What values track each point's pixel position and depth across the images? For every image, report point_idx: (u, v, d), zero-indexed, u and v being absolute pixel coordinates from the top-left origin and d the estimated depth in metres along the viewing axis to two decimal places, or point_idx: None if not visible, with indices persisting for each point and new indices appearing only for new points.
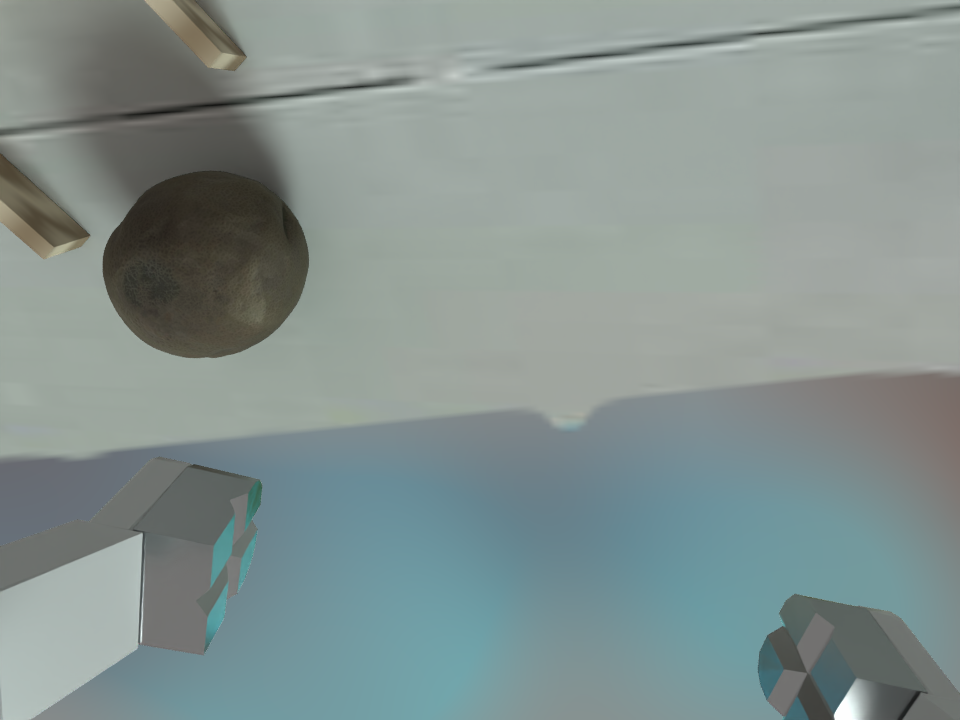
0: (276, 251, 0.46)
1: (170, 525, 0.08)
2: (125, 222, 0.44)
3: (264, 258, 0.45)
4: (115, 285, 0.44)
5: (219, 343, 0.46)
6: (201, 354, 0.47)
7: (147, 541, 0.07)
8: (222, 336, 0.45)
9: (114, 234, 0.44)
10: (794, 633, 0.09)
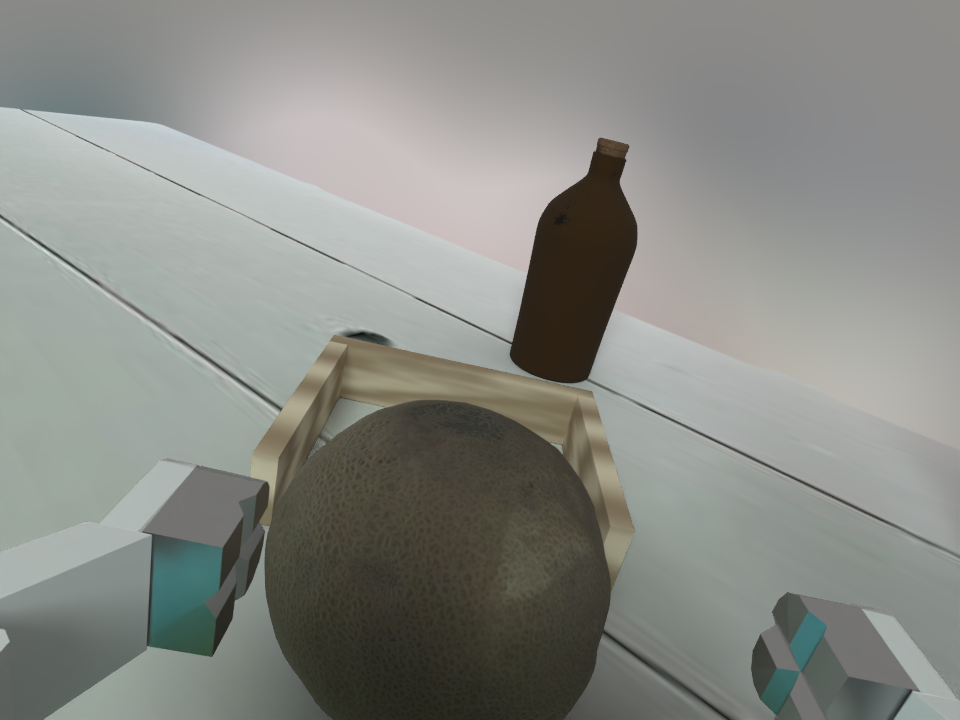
0: (602, 595, 0.24)
1: (179, 527, 0.08)
2: None
3: (596, 567, 0.24)
4: (412, 402, 0.27)
5: (429, 533, 0.21)
6: (356, 537, 0.22)
7: (157, 543, 0.07)
8: (453, 527, 0.21)
9: None
10: (787, 631, 0.09)
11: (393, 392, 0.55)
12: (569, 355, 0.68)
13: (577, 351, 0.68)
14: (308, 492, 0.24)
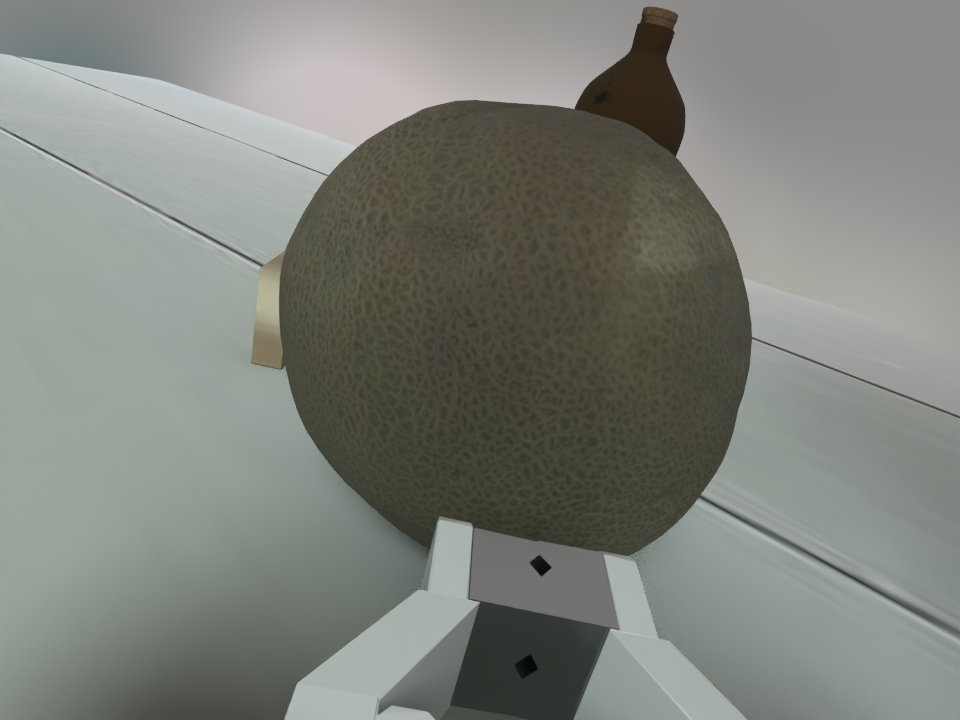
0: (748, 327, 0.17)
1: (496, 592, 0.08)
2: None
3: (742, 283, 0.17)
4: None
5: (524, 175, 0.14)
6: (414, 194, 0.15)
7: (481, 609, 0.08)
8: (560, 168, 0.14)
9: None
10: None
11: None
12: None
13: None
14: (341, 174, 0.17)
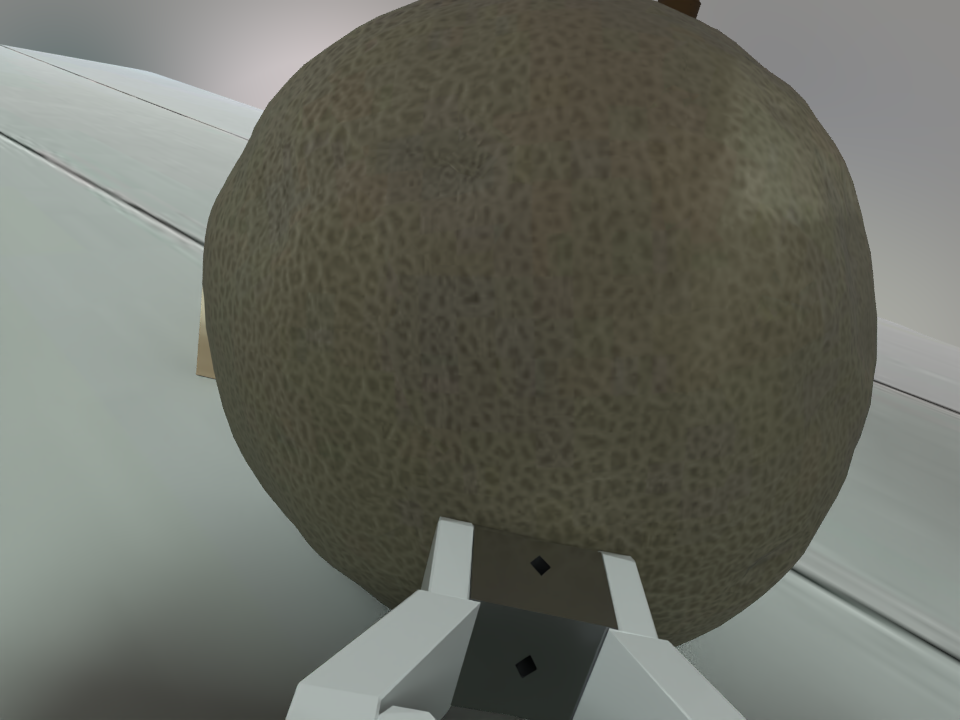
0: (876, 317, 0.12)
1: (497, 593, 0.08)
2: None
3: (870, 252, 0.12)
4: None
5: (558, 65, 0.09)
6: (386, 100, 0.10)
7: (481, 610, 0.08)
8: (615, 54, 0.09)
9: None
10: None
11: None
12: None
13: None
14: (288, 87, 0.12)
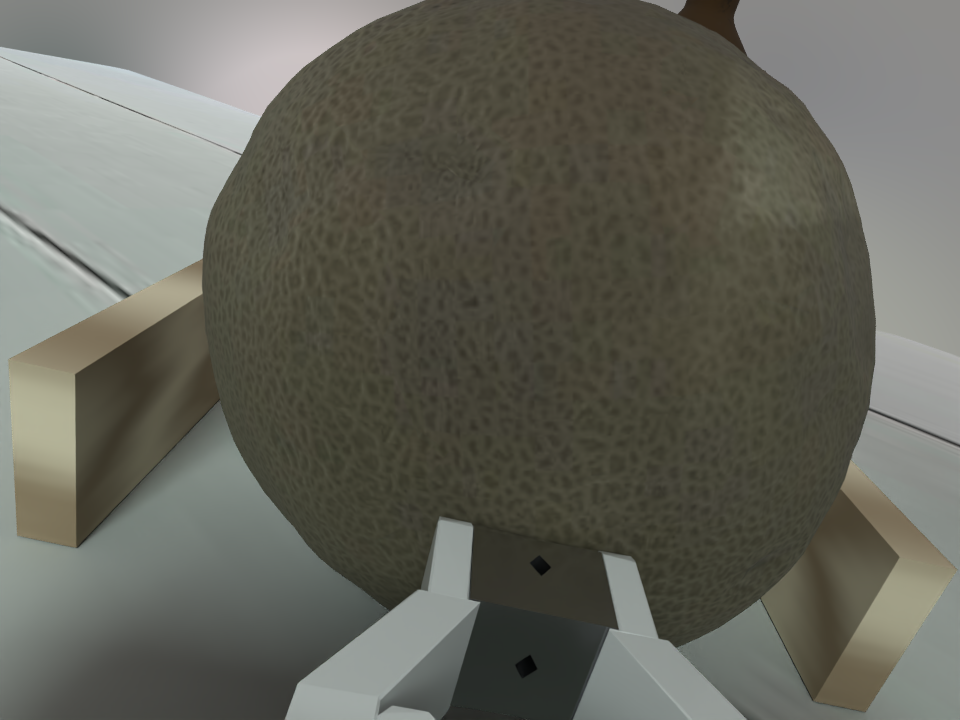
0: (874, 319, 0.12)
1: (497, 593, 0.08)
2: None
3: (868, 254, 0.12)
4: None
5: (556, 69, 0.09)
6: (385, 104, 0.10)
7: (481, 610, 0.08)
8: (613, 58, 0.09)
9: None
10: None
11: None
12: None
13: None
14: (287, 90, 0.12)
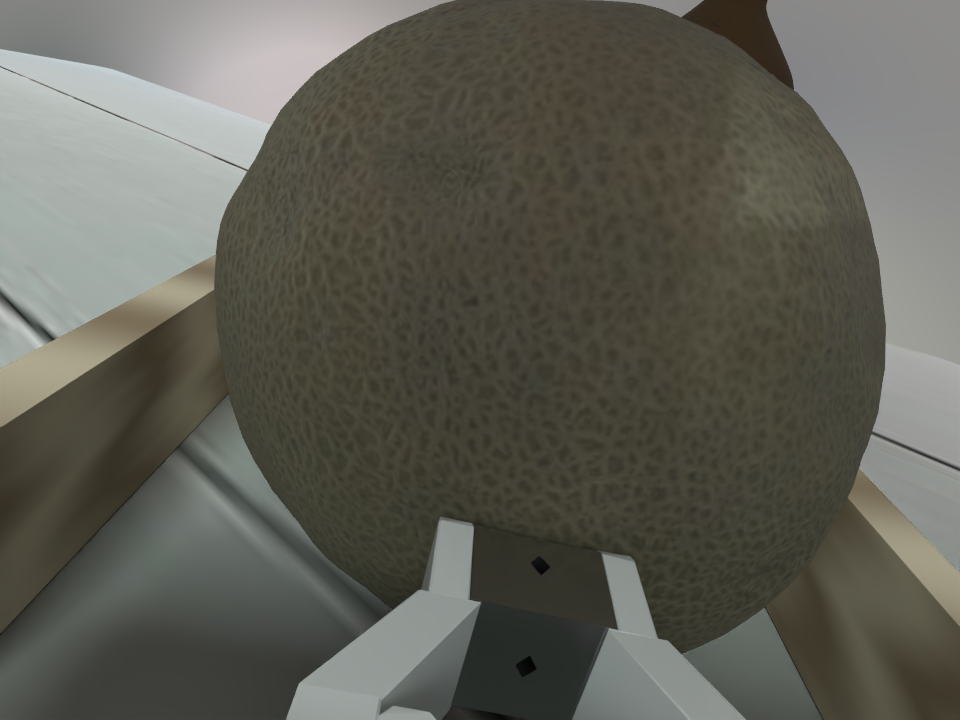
0: (884, 325, 0.12)
1: (497, 593, 0.08)
2: None
3: (878, 259, 0.12)
4: None
5: (559, 72, 0.09)
6: (391, 107, 0.10)
7: (482, 609, 0.08)
8: (616, 61, 0.09)
9: None
10: None
11: None
12: None
13: None
14: (299, 94, 0.12)
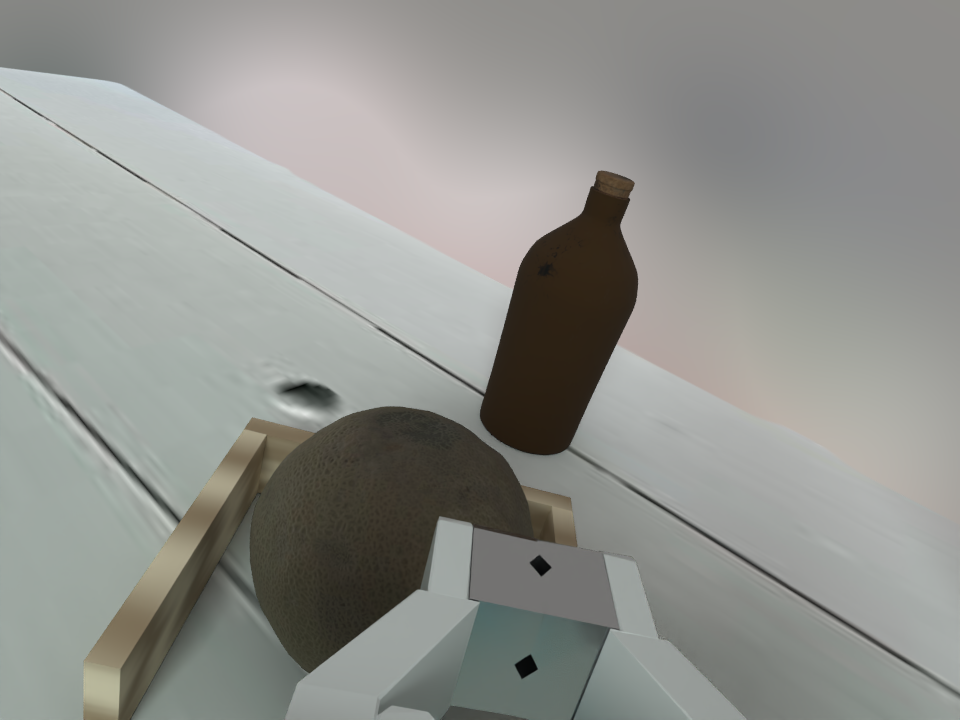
0: None
1: (496, 592, 0.08)
2: None
3: None
4: (382, 408, 0.33)
5: (377, 524, 0.26)
6: (320, 521, 0.27)
7: (481, 609, 0.08)
8: (397, 520, 0.26)
9: None
10: None
11: None
12: (548, 426, 0.57)
13: (558, 421, 0.58)
14: (287, 480, 0.29)
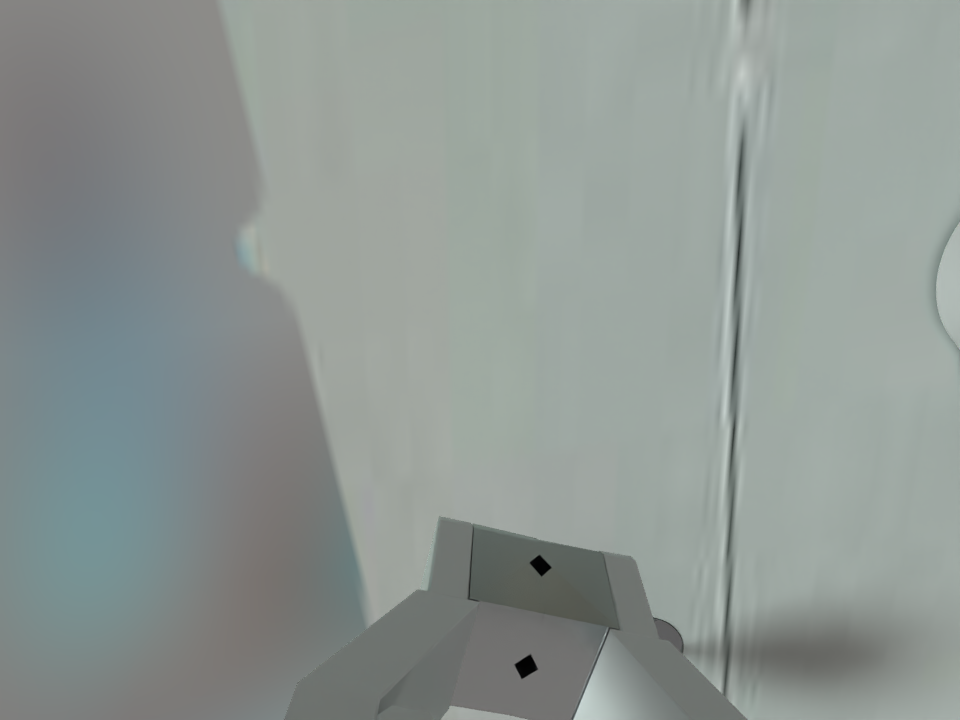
0: None
1: (496, 592, 0.08)
2: None
3: None
4: None
5: None
6: None
7: (481, 609, 0.08)
8: None
9: None
10: None
11: None
12: None
13: None
14: None
